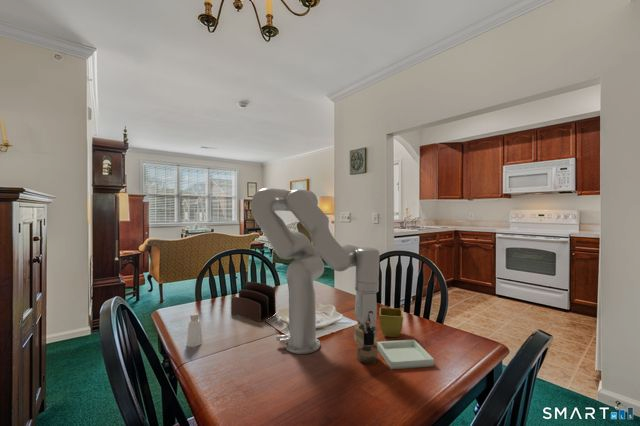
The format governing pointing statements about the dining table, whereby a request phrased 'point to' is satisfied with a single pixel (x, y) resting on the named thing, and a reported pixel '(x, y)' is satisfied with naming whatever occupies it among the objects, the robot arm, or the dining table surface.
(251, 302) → the letter holder
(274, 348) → the dining table surface
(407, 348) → the tray
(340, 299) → the dining table surface
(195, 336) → the salt shaker
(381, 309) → the flower pot
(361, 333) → the birch ring
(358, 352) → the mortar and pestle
